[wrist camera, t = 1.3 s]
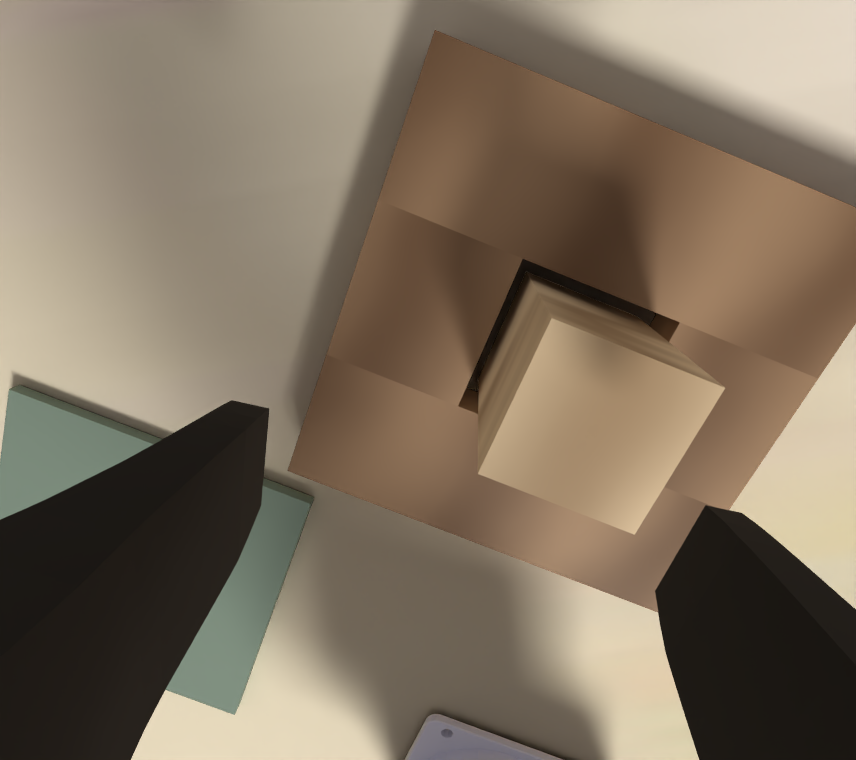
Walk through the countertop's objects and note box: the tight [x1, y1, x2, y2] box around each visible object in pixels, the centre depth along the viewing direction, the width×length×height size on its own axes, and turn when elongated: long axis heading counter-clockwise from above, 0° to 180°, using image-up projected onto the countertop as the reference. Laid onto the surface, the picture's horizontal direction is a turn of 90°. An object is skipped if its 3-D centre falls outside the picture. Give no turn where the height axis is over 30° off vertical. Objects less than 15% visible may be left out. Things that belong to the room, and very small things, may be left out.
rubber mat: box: [0, 385, 314, 715], centre depth 23 cm, size 12×12×1 cm
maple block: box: [478, 272, 725, 535], centre depth 16 cm, size 4×4×7 cm
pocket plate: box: [288, 30, 856, 612], centre depth 18 cm, size 14×14×2 cm
